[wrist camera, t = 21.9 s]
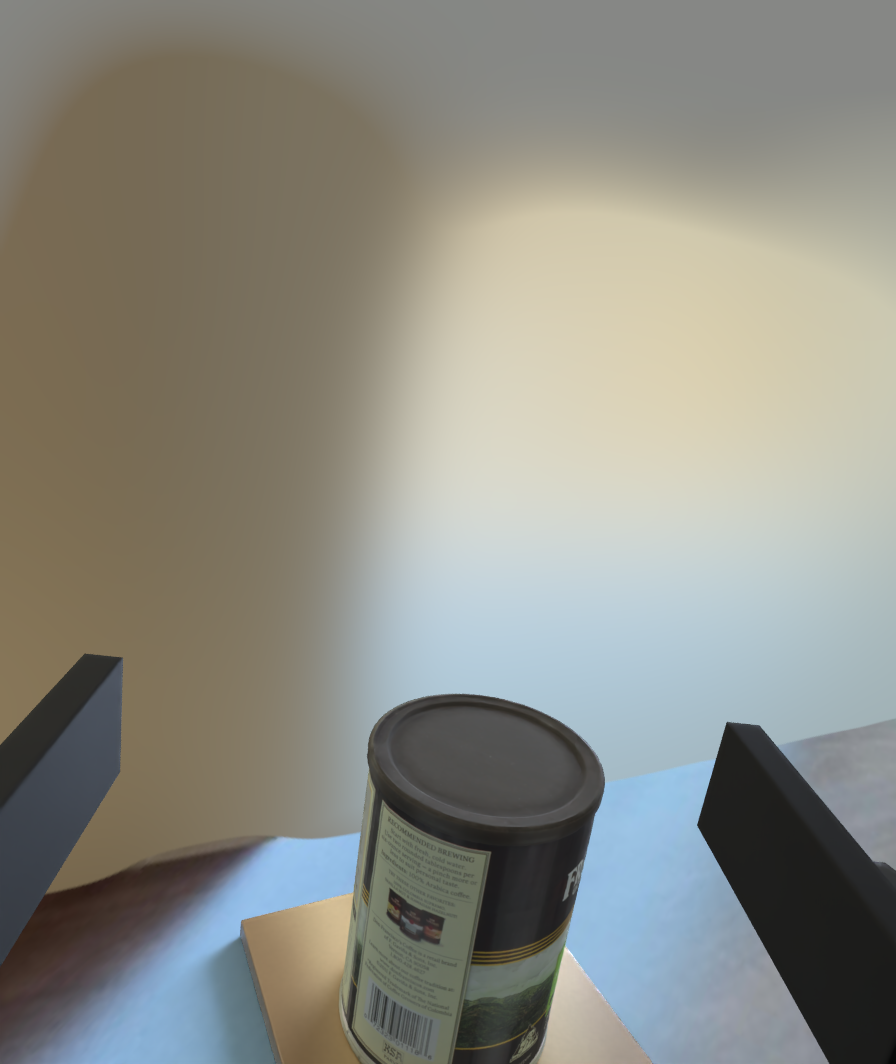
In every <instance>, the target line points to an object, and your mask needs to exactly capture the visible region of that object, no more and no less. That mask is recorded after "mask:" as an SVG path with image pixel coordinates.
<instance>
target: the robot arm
mask: <svg viewBox="0 0 896 1064" xmlns="http://www.w3.org/2000/svg"><path fill="white" fill-rule="evenodd" d="M122 671H123V658H121V657H111V656H101V655H93V654H84V655H83V656H82V657H81V658H80V659H79V660H78V661H77V663H76V664H75V665H74V666H73V667H72V668H71V669H70V670H69V671H68V672H67V674H65V676H64V677H63V678H62V679H61V680H60V681H59V682H58V683H57V685H55V686H54V688H53V689H52V690H51V691H50V692H49V693H48V694H47V695H46V696H45V697H44V698H43V699H42V700H41V702H40V703H39V704H38V705H37V706H36V707H35V708H34V709H33V710H32V711H31V712H30V713H29V715H28V716H27V717H26V718H25V719H24V720H23V721H22V722H21V723H20V724H19V726H17V728H16V729H15V730H14V731H13V732H12V733H11V734H10V735H9V736H8V737H7V738H6V740H5V741H4V742H3V743H2V744H1V745H0V966H1V964H2V963H3V961H4V959H5V958H6V956H7V955H8V953H9V951H10V950H11V948H12V946H13V945H14V943H15V942H16V940H17V938H18V937H19V935H20V933H21V932H22V930H23V929H24V927H25V925H26V924H27V922H28V920H29V919H30V917H31V916H32V914H33V912H34V911H35V909H36V907H37V906H38V904H39V903H40V901H41V899H42V898H43V896H44V894H45V893H46V891H47V889H48V888H49V886H50V885H51V883H52V881H53V880H54V878H55V877H56V875H57V873H58V872H59V870H60V868H61V867H62V865H63V863H64V862H65V860H66V858H67V857H68V855H69V854H70V852H71V851H72V849H73V847H74V846H75V844H76V842H77V841H78V839H79V838H80V836H81V834H82V833H83V831H84V829H85V828H86V826H87V825H88V823H89V821H90V820H91V818H92V816H93V815H94V813H95V812H96V810H97V808H98V807H99V805H100V803H101V802H102V800H103V799H104V797H105V795H106V794H107V792H108V790H109V789H110V787H111V785H112V784H113V782H114V781H115V779H116V777H117V776H118V774H119V773H120V752H121V751H120V750H121V749H120V748H121V712H122V673H123V672H122ZM697 826H698V828H699V830H700V831H701V833H702V835H703V837H704V839H705V840H706V842H707V844H708V846H709V848H710V849H711V851H712V853H713V855H714V857H715V858H716V860H717V862H718V864H719V866H720V867H721V869H722V871H723V873H724V875H725V876H726V878H727V880H728V882H729V884H730V885H731V887H732V889H733V891H734V893H735V894H736V896H737V898H738V900H739V902H740V903H741V905H742V907H743V909H744V911H745V912H746V914H747V916H748V918H749V920H750V921H751V923H752V925H753V927H754V929H755V930H756V932H757V934H758V936H759V938H760V939H761V941H762V943H763V945H764V947H765V948H766V950H767V952H768V954H769V956H770V957H771V959H772V961H773V963H774V965H775V966H776V968H777V970H778V972H779V974H780V975H781V977H782V979H783V981H784V983H785V984H786V986H787V988H788V990H789V992H790V993H791V995H792V997H793V999H794V1001H795V1002H796V1004H797V1006H798V1008H799V1010H800V1011H801V1013H802V1015H803V1017H804V1019H805V1020H806V1022H807V1024H808V1026H809V1028H810V1029H811V1031H812V1033H813V1035H814V1037H815V1038H816V1040H817V1042H818V1044H819V1046H820V1047H821V1049H822V1051H823V1053H824V1055H825V1056H826V1058H827V1060H828V1062H829V1064H896V871H895V870H894V869H893V868H891V867H890V866H889V865H887V864H886V863H883V862H873V861H872V860H871V859H870V857H869V856H868V855H867V854H866V853H865V851H864V850H863V849H862V848H861V847H860V845H859V844H858V843H857V842H856V841H855V839H854V838H853V837H852V836H851V835H850V833H849V832H848V831H847V830H846V829H845V827H844V826H843V825H842V824H841V823H840V821H839V820H838V819H837V818H836V817H835V816H834V814H833V813H832V812H831V811H830V810H829V808H828V807H827V806H826V805H825V804H824V802H823V801H822V800H821V799H820V798H819V796H818V795H817V794H816V793H815V792H814V790H813V789H812V788H811V787H810V786H809V784H808V783H807V782H806V781H805V780H804V778H803V777H802V776H801V775H800V774H799V772H798V771H797V770H796V769H795V768H794V766H793V765H792V764H791V763H790V762H789V760H788V759H787V758H786V757H785V756H784V754H783V753H782V752H781V751H780V750H779V748H778V747H777V746H776V745H775V744H774V742H773V741H772V740H771V739H770V738H769V736H767V734H766V733H765V732H764V731H763V729H762V728H761V727H760V726H759V725H750V724H741V723H731V722H727V723H726V727H725V730H724V733H723V737H722V740H721V744H720V747H719V751H718V754H717V758H716V761H715V765H714V768H713V772H712V775H711V779H710V782H709V786H708V789H707V793H706V796H705V800H704V803H703V807H702V810H701V814H700V817H699V821H698V824H697Z"/></svg>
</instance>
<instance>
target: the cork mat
mask: <svg viewBox="0 0 896 1064" xmlns="http://www.w3.org/2000/svg"><path fill="white" fill-rule="evenodd" d="M352 900H353V893H350V894H345V895H341V896H337V897H333V898H329V899H325V900H321V901H317V902H313V903H309V904H305V905H301V906H297V907H293V908H289V909H285V910H281V911H277V912H273V913H269V914H265V915H261V916H257V917H253V918H249V919H245V920H242V921H241V930H240V936H241V940H242V943H243V947H244V951H245V954H246V958H247V961H248V965H249V969H250V972H251V976H252V979H253V983H254V987H255V990H256V994H257V997H258V1001H259V1005H260V1008H261V1012H262V1015H263V1019H264V1023H265V1026H266V1030H267V1033H268V1037H269V1041H270V1044H271V1048H272V1051H273V1055H274V1059H275V1062H276V1064H362V1063H360V1061H359V1059H358V1058H357V1056H356V1055H355V1053H354V1052H353V1050H352V1048H351V1047H350V1045H349V1043H348V1041H347V1038H346V1036H345V1033H344V1030H343V1027H342V1024H341V1020H340V1013H339V988H340V983H341V980H342V977H343V974H344V966H345V958H346V950H347V942H348V933H349V925H350V917H351V909H352ZM537 1064H653V1063H652V1062H651V1060H650V1059H649V1057H648V1056H647V1055H646V1053H645V1052H644V1051H643V1049H642V1048H641V1047H640V1045H639V1044H638V1043H637V1041H636V1040H635V1039H634V1037H633V1036H632V1035H631V1033H630V1032H629V1031H628V1029H627V1028H626V1027H625V1025H624V1024H623V1023H622V1021H621V1020H620V1019H619V1017H618V1016H617V1014H616V1013H615V1012H614V1010H613V1009H612V1008H611V1006H610V1005H609V1004H608V1002H607V1001H606V1000H605V998H604V997H603V996H602V994H601V993H600V992H599V990H598V989H597V988H596V986H595V985H594V984H593V982H592V981H591V980H590V978H589V977H588V976H587V974H586V973H585V971H584V970H583V969H582V967H581V966H580V965H579V963H578V962H577V961H576V959H575V958H574V957H573V955H572V954H571V953H570V951H569V950H568V949H567V947H566V946H565V948H564V952H563V957H562V961H561V965H560V970H559V974H558V979H557V983H556V988H555V992H554V997H553V1001H552V1005H551V1010H550V1015H549V1020H548V1028H547V1035H546V1041H545V1045H544V1048H543V1051H542V1053H541V1056H540V1058H539V1060H538V1062H537Z"/></svg>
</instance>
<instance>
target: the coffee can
mask: <svg viewBox="0 0 896 1064" xmlns="http://www.w3.org/2000/svg"><path fill="white" fill-rule="evenodd" d="M367 758H368V765H369V773H368V781H367V788H366V797H365V804H364V812H363V820H362V829H361V836H360V844H359V852H358V859H357V867H356V876H355V883H354V892H353V900H352V909H351V917H350V925H349V933H348V942H347V950H346V958H345V966H344V974H343V977H342V980H341V983H340V988H339V1013H340V1020H341V1024H342V1027H343V1030H344V1033H345V1036H346V1038H347V1041H348V1043H349V1045H350V1047H351V1048H352V1050H353V1052H354V1053H355V1055H356V1056H357V1058H358V1059H359V1061H360V1063H362V1064H537V1062H538V1060H539V1058H540V1056H541V1053H542V1051H543V1048H544V1045H545V1041H546V1035H547V1028H548V1020H549V1015H550V1010H551V1005H552V1001H553V997H554V992H555V988H556V983H557V979H558V974H559V970H560V965H561V961H562V957H563V952H564V948H565V943H566V939H567V935H568V930H569V926H570V922H571V917H572V913H573V908H574V904H575V900H576V896H577V891H578V887H579V883H580V879H581V873H582V870H583V866H584V860H585V857H586V853H587V847H588V844H589V839H590V835H591V831H592V826H593V821H594V816H595V813H596V812H597V810H598V808H599V806H600V803H601V800H602V796H603V793H604V787H605V777H604V772H603V768H602V765H601V763H600V761H599V759H598V756H597V755H596V753H595V752H594V751H593V749H592V748H591V747H590V746H589V745H588V743H587V742H586V741H585V740H584V739H583V738H582V737H581V736H579V735H578V734H577V733H576V732H574V731H573V730H572V729H570V728H569V727H568V726H566V725H565V724H563V723H562V722H560V721H558V720H556V719H555V718H553V717H551V716H549V715H547V714H544V713H542V712H540V711H538V710H536V709H533V708H531V707H528V706H525V705H522V704H519V703H515V702H512V701H508V700H505V699H499V698H495V697H489V696H482V695H474V694H473V695H472V694H471V695H470V694H441V695H433V696H426V697H422V698H418V699H414V700H411V701H408V702H406V703H403V704H401V705H399V706H397V707H395V708H393V709H392V710H390V711H389V712H387V713H386V714H385V715H383V716H382V717H381V718H380V719H379V721H378V722H377V723H376V724H375V726H374V728H373V730H372V732H371V734H370V737H369V743H368V754H367Z"/></svg>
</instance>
